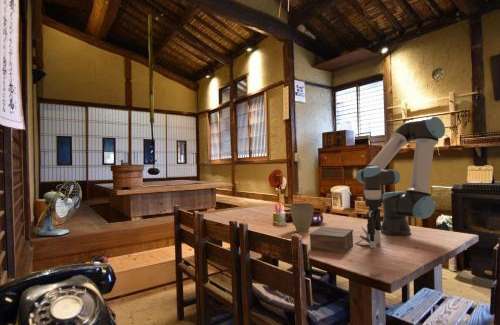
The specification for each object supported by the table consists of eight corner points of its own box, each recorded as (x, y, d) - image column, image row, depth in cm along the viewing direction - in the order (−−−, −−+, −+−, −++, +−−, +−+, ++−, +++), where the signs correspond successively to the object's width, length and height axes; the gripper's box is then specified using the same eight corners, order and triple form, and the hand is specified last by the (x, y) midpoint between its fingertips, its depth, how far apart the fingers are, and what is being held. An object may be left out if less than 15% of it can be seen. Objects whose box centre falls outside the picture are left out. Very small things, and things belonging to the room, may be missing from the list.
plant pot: (294, 234, 172) (293, 207, 172) (287, 229, 187) (286, 204, 187) (319, 232, 174) (317, 205, 174) (310, 227, 189) (309, 202, 189)
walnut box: (321, 241, 155) (321, 226, 155) (353, 245, 146) (352, 229, 146) (310, 250, 141) (309, 233, 141) (344, 254, 132) (343, 237, 132)
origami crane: (385, 233, 143) (368, 219, 146) (375, 246, 137) (358, 230, 140) (373, 243, 151) (358, 229, 154) (363, 255, 145) (347, 240, 148)
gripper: (371, 195, 153) (373, 239, 153) (358, 200, 137) (360, 249, 137) (386, 196, 148) (388, 241, 148) (375, 201, 132) (377, 252, 132)
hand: (375, 245), depth 142 cm, fingers open, 7 cm apart
